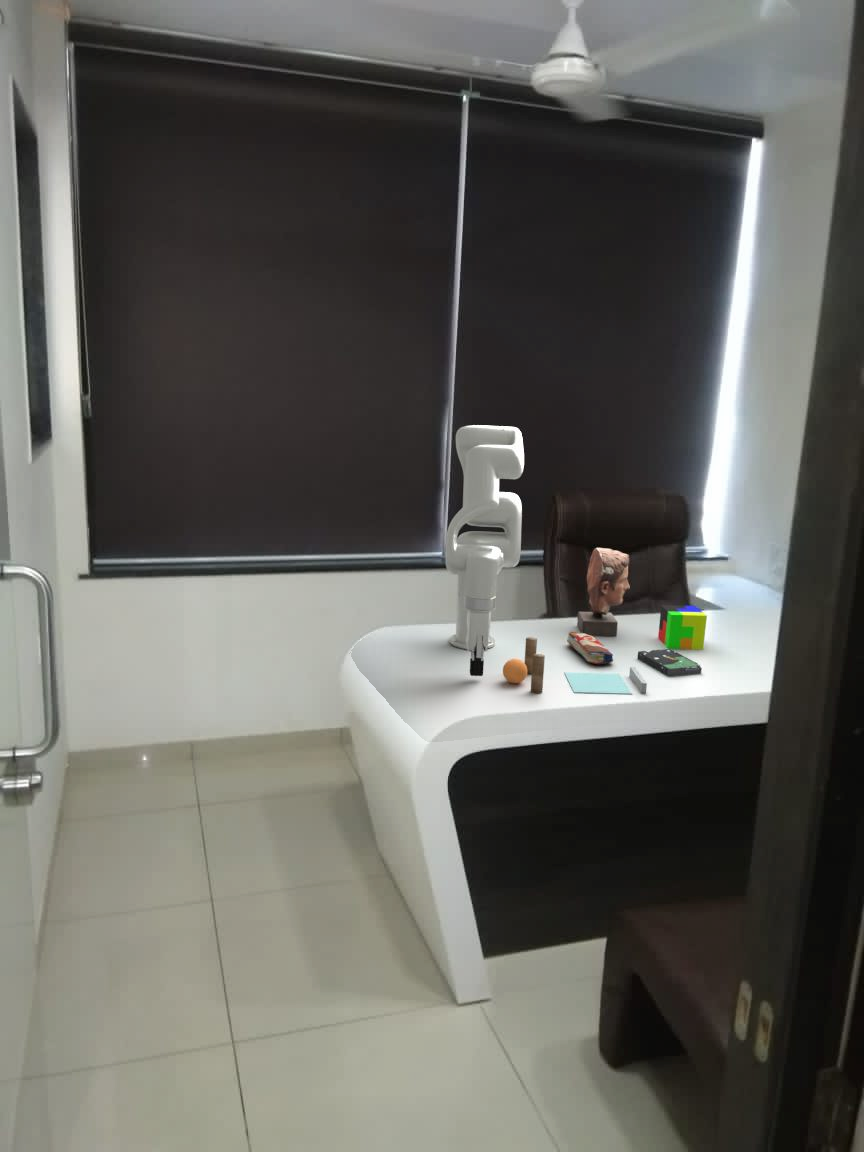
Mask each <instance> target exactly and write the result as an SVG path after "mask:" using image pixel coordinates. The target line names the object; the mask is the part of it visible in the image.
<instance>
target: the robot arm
mask: <svg viewBox="0 0 864 1152" xmlns="http://www.w3.org/2000/svg"><path fill="white" fill-rule="evenodd" d="M455 448H456V453H457V456H458V459H459V463H460V465H461V468H462V473H463V493H462V494H463V495H462V508H461V509H460V510H458V512H457V513H456V514H455V515H454V516H453V518H452V519H451V521H450V523H449V526H448V528H447V531H446V537H445V540H446V541H445V557H444V558H445V567H446V569H447V571H448V572H449V573H450V574H452V575H457V594H456V595H457V597H456V623H455V634H453V635H451V636H450V637H449V643H450V644H451V646H453V647H455V648H459V649H463V650H466V651H468V652H470V653H471V655H470V658H469V660H470V661H469V676H472V677H483V676H484V666H485V665H484V663H485V660H484V654H485V653H486V652H487V651H488V649H490V648H493V647H494V646H495V645H496V639H495V638H494V637H492V636H491V619H492V617H491V616H492V612H494V611H495V610H496V599H497V598H496V597H497V595H496V594H497V581H498V580H497V577H498V574H499V573H500V572H501V570H502V569H503V568H514V567H516V566H517V565H518V564H519V562H520V559H521V551H522V550H521V547H522V545H521V544H522V523H523V521H522V519H523V518H522V517H523V514H522V513H523V509H522V507H523V506H522V501H521V499H520V497H519V495H518V494H516V493H514V492H510V491H509V492H508V491H507V492H505V491H500V480H501V479H503V480H504V479H505V480H507V479H508V480H517V479H520V477H521V476H522V474H523V472H524V466H525V452H524V442H523V436H522V432H521V431H520V429H519V428H518V427H515V426H503V425H501V426H499V425H481V424H480V425H479V424H477V425H475V424H473V425H465V426H462V427H460V428H458V430H457V431H456V434H455ZM465 524H467V525H469V526H473V527H474V526H475V527H486V528H487V527H488V528H502V529H503V530H504V532H502V531H501V532H500V531H499V532H498V531H482V530H481V531H477V530H475V531H473V530H472V531H466V532H463V533H461V534H460V535H458V534H459V532H460V530H461V529H462V528H463V526H464V525H465ZM484 652H485V653H484Z"/></svg>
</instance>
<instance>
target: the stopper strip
mask: <svg viewBox="0 0 864 1152" xmlns="http://www.w3.org/2000/svg"><path fill="white" fill-rule="evenodd" d="M629 678H630V679H631V681H632V682H633V683H634V685H635V687H636V688H637V689H638V691H639V693H640V694H647V687H648V686H647V685H648V682H646V680H645V679H644V677H643V676H642V675H641V673H640V672H639V671H638V669H637V667H636V666H630V667H629Z"/></svg>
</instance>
